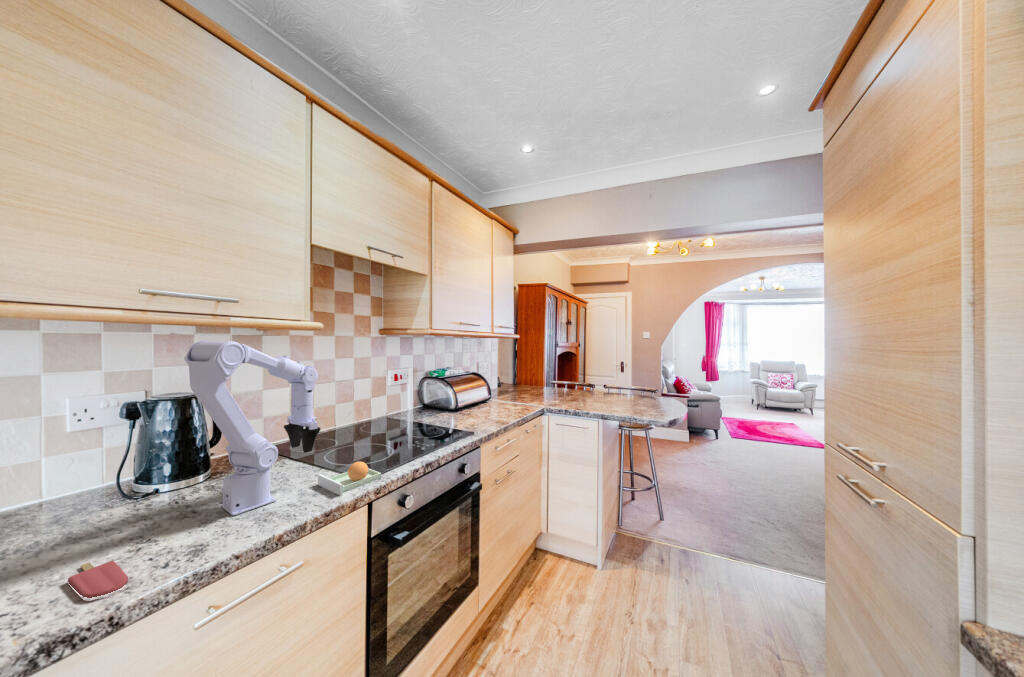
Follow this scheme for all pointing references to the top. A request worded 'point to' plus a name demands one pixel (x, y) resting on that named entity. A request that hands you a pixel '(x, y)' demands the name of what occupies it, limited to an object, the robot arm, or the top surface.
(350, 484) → the tray
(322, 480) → the acrylic wall
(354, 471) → the ball
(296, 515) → the top surface
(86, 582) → the popsicle
